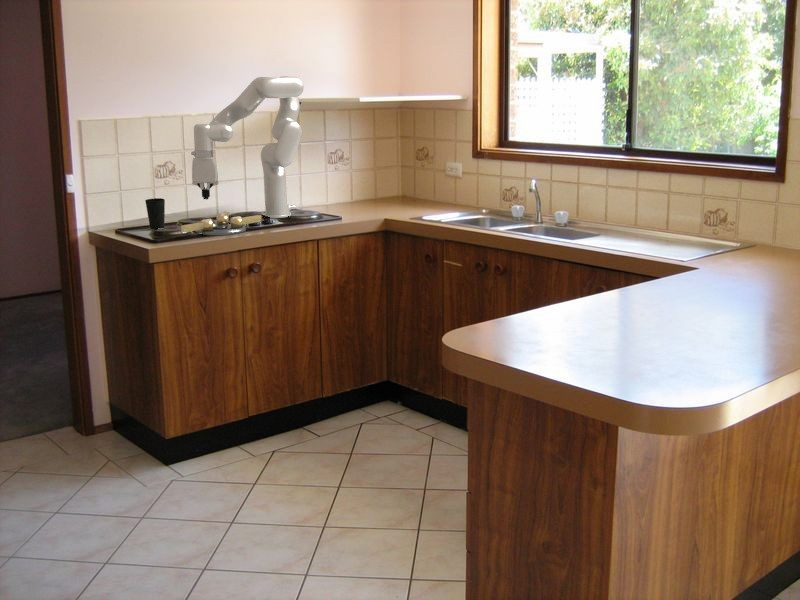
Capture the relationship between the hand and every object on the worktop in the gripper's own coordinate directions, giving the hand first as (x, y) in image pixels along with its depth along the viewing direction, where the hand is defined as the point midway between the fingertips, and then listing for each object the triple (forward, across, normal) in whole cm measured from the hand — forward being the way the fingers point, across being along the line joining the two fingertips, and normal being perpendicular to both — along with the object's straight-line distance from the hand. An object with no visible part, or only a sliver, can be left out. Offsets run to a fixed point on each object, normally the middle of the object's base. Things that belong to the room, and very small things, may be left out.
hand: (206, 198), depth 375 cm
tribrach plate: (+11, +8, -15) cm, 20 cm away
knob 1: (+9, +8, -4) cm, 13 cm away
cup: (+12, -19, -8) cm, 24 cm away
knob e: (+10, 0, -23) cm, 25 cm away
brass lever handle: (+9, +18, -12) cm, 23 cm away
